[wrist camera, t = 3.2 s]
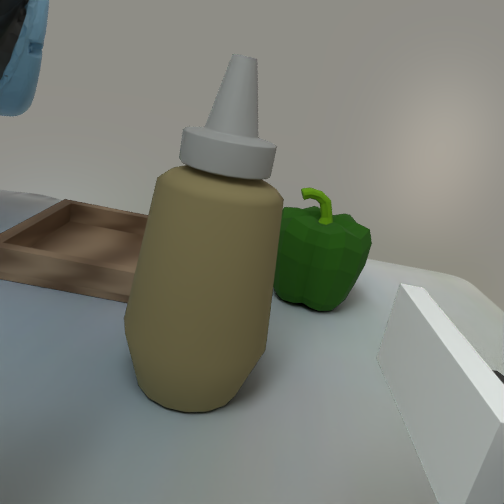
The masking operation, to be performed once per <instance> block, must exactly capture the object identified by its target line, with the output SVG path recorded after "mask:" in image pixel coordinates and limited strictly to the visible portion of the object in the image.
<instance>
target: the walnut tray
mask: <svg viewBox="0 0 504 504" xmlns="http://www.w3.org/2000/svg"><path fill="white" fill-rule="evenodd" d="M147 219H148V215H144V214H139V213H133V212H128V211H123V210H118V209H112V208H108V207H102V206H98V205H92V204H87V203H82V202H77V201H72V200H67V199H64V200H63V201H61V202H59V203H57V204H55V205H53V206H51V207H49V208H48V209H46V210H44V211H42V212H40V213H38V214H36V215H34V216H33V217H31V218H29V219H27V220H25V221H23V222H21V223H20V224H18V225H16V226H14V227H12V228H10V229H8V230H6V231H5V232H3V233H1V234H0V279H3V280H8V281H14V282H19V283H24V284H30V285H35V286H40V287H46V288H51V289H56V290H62V291H67V292H72V293H78V294H83V295H88V296H94V297H99V298H104V299H110V300H115V301H120V302H126V303H128V300H129V296H130V291H131V287H132V283H133V279H134V274H135V270H136V266H137V262H138V257H139V253H140V249H141V245H142V240H143V236H144V232H145V228H146V223H147Z"/></svg>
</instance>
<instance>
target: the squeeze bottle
mask: <svg viewBox="0 0 504 504" xmlns="http://www.w3.org/2000/svg"><path fill="white" fill-rule="evenodd" d="M257 77H258V75H257V59H255V58H251V57H247V56H243V55H237V54H232V57H231V60H230V62H229V65H228V68H227V70H226V73H225V75H224V78H223V81H222V83H221V86H220V89H219V91H218V94H217V97H216V99H215V102H214V105H213V107H212V110H211V112H210V115H209V117H208V120H207V123H206V125H205V127H185V128H184V129H183V135H182V141H181V148H180V156H179V158H180V160H181V161H182V163H184V164H186V165H185V166H179V167H174V168H172V169H170V170H168V171H167V172H165V173H164V174H162V175H161V176H159V177H158V178H157V181H156V186H155V190H154V194H153V198H152V203H151V207H150V211H149V215H148V219H147V223H146V228H145V232H144V236H143V240H142V245H141V249H140V253H139V257H138V262H137V266H136V270H135V274H134V279H133V283H132V287H131V291H130V296H129V300H128V304H127V308H126V313H125V317H124V323H125V334H126V338H127V342H128V346H129V350H130V354H131V358H132V362H133V366H134V369H135V373H136V377H137V381H138V385H139V387H140V388H141V389H142V390H143V392H144V393H145V394H146V395H147V397H148V398H150V399H152V400H153V401H155V402H157V403H159V404H160V405H162V406H164V407H166V408H171V409H175V410H179V411H184V412H205V411H210V410H213V409H216V408H219V407H222V406H225V405H226V404H227V403H228V402H229V401H230V400H231V399H232V398H233V397H234V396H235V395H236V393H237V392H238V390H239V389H240V387H241V386H242V384H243V383H244V381H245V380H246V378H247V377H248V375H249V374H250V372H251V371H252V369H253V368H254V366H255V365H256V363H257V362H258V360H259V359H260V357H261V356H262V354H263V353H264V351H265V348H266V341H267V334H268V326H269V317H270V309H271V301H272V292H273V284H274V276H275V267H276V259H277V251H278V243H279V234H280V226H281V218H282V209H283V201H284V199H283V198H282V196H281V195H280V194H279V192H278V191H277V190H276V189H275V188H274V187H273V186H271V185H270V184H268V183H267V182H265V181H263V180H262V179H268V178H270V176H271V172H272V167H273V162H274V158H275V153H276V148H277V146H276V145H275V144H273V143H271V142H268V141H266V140H263V139H260V138H259V137H258V82H257V81H258V78H257Z"/></svg>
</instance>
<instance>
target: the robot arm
mask: <svg viewBox="0 0 504 504" xmlns="http://www.w3.org/2000/svg"><path fill="white" fill-rule="evenodd" d="M48 7H49V0H0V115H2V116H17V115H21V114H23V113H24V112H25V111H27V110H28V108H29V107H30V106H31V103H32V101H33V98H34V95H35V91H36V87H37V82H38V77H39V72H40V66H41V59H42V48H43V44H44V38H45V33H46V26H47V17H48ZM376 358H377V361H378V363H379V366H380V368H381V370H382V373H383V375H384V377H385V380H386V382H387V384H388V387H389V389H390V391H391V394H392V396H393V398H394V401H395V403H396V405H397V408H398V410H399V412H400V415H401V417H402V419H403V422H404V424H405V426H406V429H407V431H408V433H409V436H410V438H411V440H412V443H413V445H414V447H415V450H416V452H417V454H418V457H419V459H420V461H421V464H422V466H423V468H424V471H425V473H426V476H427V478H428V480H429V483H430V485H431V487H432V490H433V492H434V494H435V497H436V499H437V501H438V504H504V376H503V375H502V374H501V373H499V372H498V371H494V370H491V368H490V367H489V366H488V365H487V364H486V362H485V361H484V360H483V359H482V358H481V356H480V355H479V354H478V353H477V352H476V350H475V349H474V348H473V347H472V346H471V344H470V343H469V342H468V341H467V340H466V338H465V337H464V336H463V335H462V334H461V332H460V331H459V330H458V329H457V327H456V326H455V325H454V324H453V323H452V321H451V320H450V319H449V318H448V317H447V315H446V314H445V313H444V312H443V311H442V309H441V308H440V307H439V306H438V305H437V303H436V302H435V301H434V300H433V299H432V297H431V296H430V295H429V294H428V293H427V291H426V290H425V289H424V288H422V287H417V286H412V285H407V284H401V283H400V285H399V288H398V291H397V295H396V298H395V301H394V304H393V307H392V310H391V313H390V316H389V320H388V323H387V326H386V329H385V332H384V335H383V338H382V342H381V345H380V348H379V351H378V354H377V357H376Z"/></svg>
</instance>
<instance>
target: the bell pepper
mask: <svg viewBox="0 0 504 504" xmlns="http://www.w3.org/2000/svg"><path fill="white" fill-rule="evenodd" d="M301 191H302V196H303V199H304V200H305V199H309V198H311V199H315V200H317V201H318V202H319V203H320V208H318V207H316V206H313V207H309V208H305V209H300V208H292V207H284V208H283V210H282V218H281V226H280V234H279V243H278V251H277V259H276V267H275V276H274V284H273V287H274V290H275V292H276V294H277V295H278V296H279V297H280V298H281V299H282V300H286V301H289V302H292V303H304V304H305V305H307V306H308V307H310V308H313V309H315V310H318V311H331V310H333V309H334V308H335V307H337V306H338V305H339V304H340V303H341V302H342V301H344V300H345V299H346V297H347V295H348V294H349V292H350V291H351V289H352V287H353V286H354V284H355V282H356V280H357V279H358V277H359V275H360V273H361V271H362V269H363V268H364V266H365V263H366V260H367V257H368V254H369V250H370V247H371V244H372V242H371V235H370V229H368V228H366V227H364V226H362V225H360V224H358V223H356V221H355V220H354V219H353V218H352V217H351V216H350V215H348V214H339V215H332V207H331V200H330V199H329V198H328V197H327V196H326V195H325V194H324V193H323V192H322V191H319V190H316V189H313V188H303V189H301Z"/></svg>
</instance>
